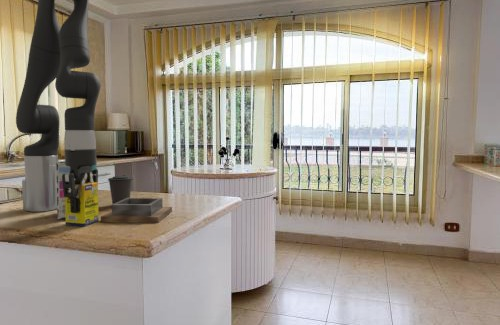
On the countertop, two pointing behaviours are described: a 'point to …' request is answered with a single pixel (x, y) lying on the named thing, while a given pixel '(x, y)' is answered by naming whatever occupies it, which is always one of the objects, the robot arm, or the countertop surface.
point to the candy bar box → (61, 188)
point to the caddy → (137, 210)
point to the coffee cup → (120, 187)
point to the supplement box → (84, 206)
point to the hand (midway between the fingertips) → (82, 209)
